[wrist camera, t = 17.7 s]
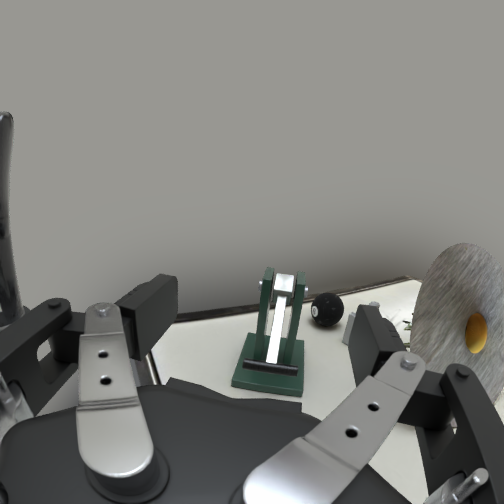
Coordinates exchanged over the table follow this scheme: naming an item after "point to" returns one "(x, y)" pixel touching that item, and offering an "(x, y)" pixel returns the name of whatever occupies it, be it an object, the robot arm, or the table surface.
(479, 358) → the upside-down potted plant
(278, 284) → the switch lever
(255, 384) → the switch bracket
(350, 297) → the table surface
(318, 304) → the billiard ball
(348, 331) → the grey tape dispenser
